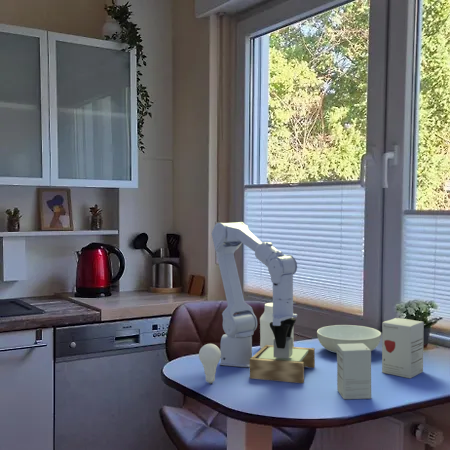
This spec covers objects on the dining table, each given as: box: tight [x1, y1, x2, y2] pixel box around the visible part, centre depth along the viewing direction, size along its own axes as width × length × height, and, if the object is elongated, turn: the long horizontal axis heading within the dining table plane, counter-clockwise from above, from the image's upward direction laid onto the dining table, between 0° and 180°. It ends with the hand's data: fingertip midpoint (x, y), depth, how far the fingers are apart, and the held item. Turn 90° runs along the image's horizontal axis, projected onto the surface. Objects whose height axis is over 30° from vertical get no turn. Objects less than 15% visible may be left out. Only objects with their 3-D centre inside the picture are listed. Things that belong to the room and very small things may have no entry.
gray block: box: [274, 337, 293, 359], centre depth 167 cm, size 4×4×5 cm
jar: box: [259, 302, 295, 350], centre depth 201 cm, size 12×10×15 cm
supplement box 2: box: [381, 317, 425, 379], centre depth 171 cm, size 9×9×15 cm
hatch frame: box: [249, 345, 316, 384], centre depth 172 cm, size 15×17×6 cm
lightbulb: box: [198, 343, 221, 384], centre depth 163 cm, size 6×6×11 cm
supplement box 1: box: [336, 343, 372, 400], centre depth 152 cm, size 7×7×13 cm
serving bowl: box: [316, 324, 382, 354], centre depth 195 cm, size 21×21×7 cm
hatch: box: [257, 347, 308, 362], centre depth 172 cm, size 12×13×1 cm
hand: (283, 345), depth 167 cm, fingers closed on gray block, 4 cm apart
